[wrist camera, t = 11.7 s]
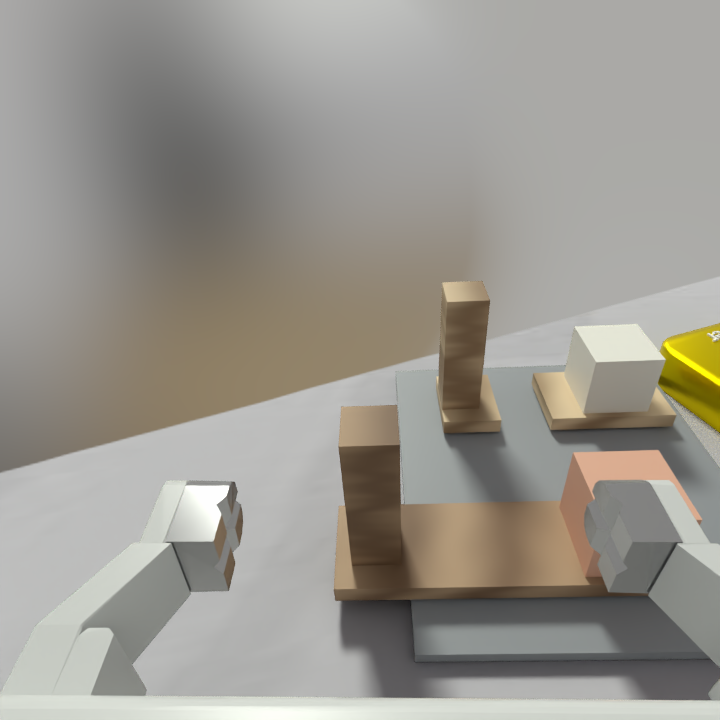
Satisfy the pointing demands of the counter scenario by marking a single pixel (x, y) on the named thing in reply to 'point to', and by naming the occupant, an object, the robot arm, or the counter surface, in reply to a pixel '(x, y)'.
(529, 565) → the wooden l-shaped stand
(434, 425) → the slate board
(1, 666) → the counter surface
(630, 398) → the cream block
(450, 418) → the broken oak strip
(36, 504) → the counter surface
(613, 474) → the terracotta block
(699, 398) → the element tile
